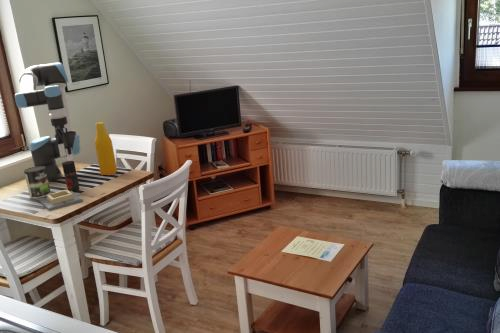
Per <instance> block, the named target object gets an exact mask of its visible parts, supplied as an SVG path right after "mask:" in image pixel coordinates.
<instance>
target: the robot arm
mask: <svg viewBox="0 0 500 333" xmlns="http://www.w3.org/2000/svg"><path fill="white" fill-rule="evenodd" d="M18 81H19V84H20V90H19V92H18V93H17V92H16V93H15V94H14V100H15V104H16V107H17V108H18V109H23V108H24V109H25V108H31V107H38V106H44V105H47V108H48V112H47V114H48V115H49V118H51V119H50V122H51V126H52V127H54V137H53V138H52V137H51V136H50V135H47V136H46V135H45V136H42V137H37V138H35V139H34V140H32V141H30V142H29V149H30V150H29V151H30V152H31V157H32V162H33V167H37V166H45V168H46V173H47V178H48V182H53V181H55V180H58V179H60V178H62V177H63V173H62V170H61V168H60V167H59V165H58V164H57V161H56V159H62V158H63V159H64V158H67V161H75V158H74V156H77V155H80V154H81V141H80V134H79V133H77V131H76V130H74V128H73V126H72V125H73V124H72V119H71V116H70V110H69V105H68V100H67V95H66V90H65V88H66V87H67V85H68V84H67V83H68V82H69V79H68V76H67V72H66V69H65V67H64V65H63V63H62V62H51V63H46V64H45V63H44V64H35V65H31V66H29V67H27V68H26V69H24V70H23V71H22V72H21V73H20V75H19V78H18ZM41 86H42V87H43V86H44V88H43V89H39V90H37V87H41Z"/></svg>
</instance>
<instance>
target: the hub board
mask: <svg viewBox="0 0 500 333" xmlns="http://www.w3.org/2000/svg"><path fill="white" fill-rule="evenodd" d="M38 199H39V200H38V201H39V203H40V204H41V205H42V206H44V207H45V209H46V210H47V211H48V212H49V211H53V210H56V209H60V208H63V207H64V208H65V207H67V206H70V205H74V204H75V205H76V204H77V203H81V202H84V199H83V198H82V197H81V196H79V195H78V194H77V193H76V192H73V191H68V190H67V189H63V190H60V191H59V190H58V191H56V192H55V191H54V192H51V194H48V195H47V196H46V197H42V198H38Z"/></svg>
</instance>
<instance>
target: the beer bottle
mask: <svg viewBox="0 0 500 333" xmlns="http://www.w3.org/2000/svg"><path fill="white" fill-rule="evenodd" d="M95 131H96V135H95V139H94V147H95V151H96V152H95V153H96V156H97V162H98V166H99V173H100V175H101V176H103V175H108V176H112V174H113V175H115V174H117V173H116V172H118V166H117V164H116V163H117V162H116V158H115V156H116V155H115V152H114V147H113V141H112V139H111V137H110V136H109V134H108V132H107V130H106V126H105V123H104V122H103V121H100V122H99V121H98V122H95Z"/></svg>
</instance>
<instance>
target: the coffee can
mask: <svg viewBox="0 0 500 333" xmlns="http://www.w3.org/2000/svg"><path fill="white" fill-rule="evenodd" d="M23 173H24V176H25V181H26V184H27V190H28V193H29V198H30V199H33V200H34V199H43V198H46V197H47V195H48V194H51V193H52V191H51V188H50V187H51V186H50V181H48V178H47V173H46V168H45V166H37V167H34V166H32V167H29V168H26V169H24V170H23Z"/></svg>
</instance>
